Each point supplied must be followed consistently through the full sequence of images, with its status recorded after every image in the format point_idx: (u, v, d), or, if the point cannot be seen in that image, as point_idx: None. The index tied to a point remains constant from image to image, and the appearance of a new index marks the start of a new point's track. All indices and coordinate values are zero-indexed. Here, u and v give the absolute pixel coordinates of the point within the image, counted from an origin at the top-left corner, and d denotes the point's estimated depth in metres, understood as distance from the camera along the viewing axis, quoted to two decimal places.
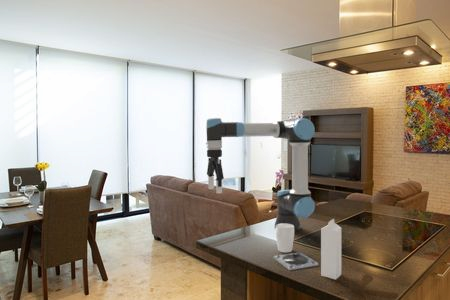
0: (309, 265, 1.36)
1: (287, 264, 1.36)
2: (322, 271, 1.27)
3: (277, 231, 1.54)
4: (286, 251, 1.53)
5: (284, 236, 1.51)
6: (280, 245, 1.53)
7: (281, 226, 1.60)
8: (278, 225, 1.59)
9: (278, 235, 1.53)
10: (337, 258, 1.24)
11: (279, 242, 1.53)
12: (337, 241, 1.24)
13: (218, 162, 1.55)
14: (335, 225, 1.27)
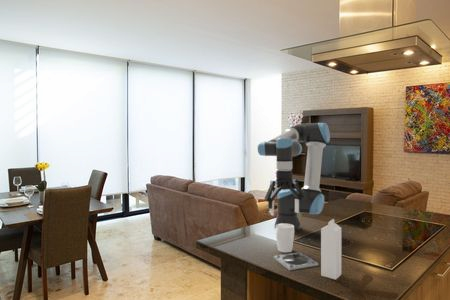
0: (309, 265, 1.36)
1: (287, 264, 1.36)
2: (322, 271, 1.27)
3: (277, 231, 1.54)
4: (286, 251, 1.53)
5: (284, 236, 1.51)
6: (280, 245, 1.53)
7: (281, 226, 1.60)
8: (278, 225, 1.59)
9: (278, 235, 1.53)
10: (337, 258, 1.24)
11: (279, 242, 1.53)
12: (337, 241, 1.24)
13: (271, 183, 1.52)
14: (335, 225, 1.27)
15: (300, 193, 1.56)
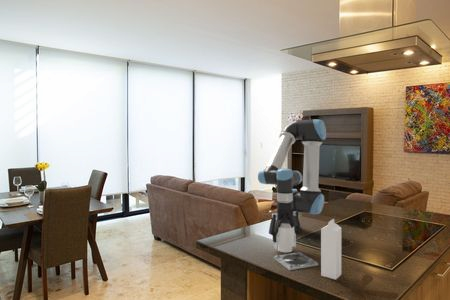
0: (309, 265, 1.36)
1: (287, 264, 1.36)
2: (322, 271, 1.27)
3: None
4: (286, 251, 1.53)
5: (284, 236, 1.51)
6: (280, 245, 1.53)
7: (281, 226, 1.60)
8: None
9: (278, 235, 1.53)
10: (337, 258, 1.24)
11: (279, 242, 1.53)
12: (337, 241, 1.24)
13: (272, 217, 1.53)
14: (335, 225, 1.27)
15: (298, 226, 1.56)
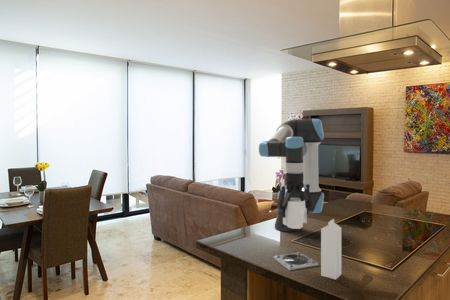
0: (309, 265, 1.36)
1: (287, 264, 1.36)
2: (322, 271, 1.27)
3: None
4: (296, 227, 1.38)
5: (294, 210, 1.36)
6: (290, 220, 1.38)
7: (290, 200, 1.45)
8: None
9: (287, 209, 1.38)
10: (337, 258, 1.24)
11: (288, 217, 1.38)
12: (337, 241, 1.24)
13: (280, 189, 1.38)
14: (335, 225, 1.27)
15: (309, 200, 1.42)
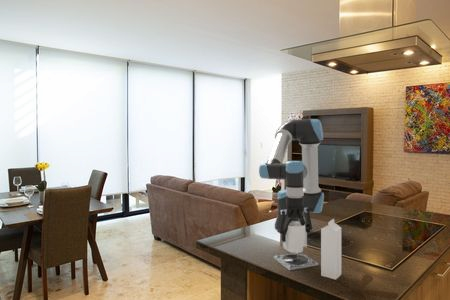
0: (309, 265, 1.36)
1: (287, 264, 1.36)
2: (322, 271, 1.27)
3: None
4: (296, 251, 1.38)
5: (295, 235, 1.37)
6: (290, 245, 1.39)
7: (290, 224, 1.45)
8: None
9: (288, 234, 1.39)
10: (337, 258, 1.24)
11: (289, 241, 1.39)
12: (337, 241, 1.24)
13: (281, 213, 1.39)
14: (335, 225, 1.27)
15: (309, 224, 1.42)
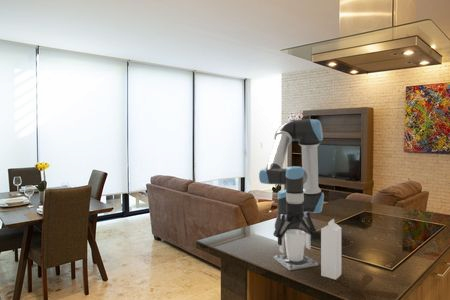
0: (309, 265, 1.36)
1: (287, 264, 1.36)
2: (322, 271, 1.27)
3: (287, 238, 1.39)
4: (296, 260, 1.38)
5: (295, 244, 1.37)
6: (290, 253, 1.39)
7: (290, 232, 1.46)
8: (287, 231, 1.45)
9: (288, 242, 1.39)
10: (337, 258, 1.24)
11: (289, 250, 1.39)
12: (337, 241, 1.24)
13: (280, 217, 1.39)
14: (335, 225, 1.27)
15: (312, 227, 1.43)
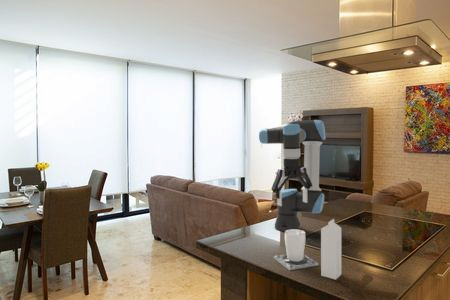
0: (309, 265, 1.36)
1: (287, 264, 1.36)
2: (322, 271, 1.27)
3: (287, 238, 1.39)
4: (296, 260, 1.38)
5: (295, 244, 1.37)
6: (290, 253, 1.39)
7: (290, 232, 1.46)
8: (287, 231, 1.45)
9: (288, 242, 1.39)
10: (337, 258, 1.24)
11: (289, 250, 1.39)
12: (337, 241, 1.24)
13: (278, 172, 1.45)
14: (335, 225, 1.27)
15: (308, 182, 1.49)
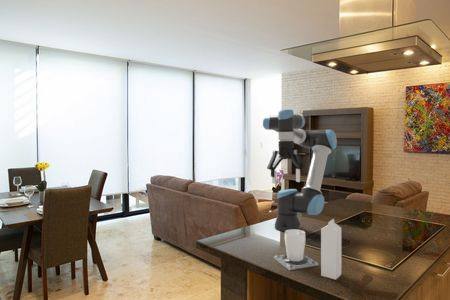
0: (309, 265, 1.36)
1: (287, 264, 1.36)
2: (322, 271, 1.27)
3: (287, 238, 1.39)
4: (296, 260, 1.38)
5: (295, 244, 1.37)
6: (290, 253, 1.39)
7: (290, 232, 1.46)
8: (287, 231, 1.45)
9: (288, 242, 1.39)
10: (337, 258, 1.24)
11: (289, 250, 1.39)
12: (337, 241, 1.24)
13: (273, 153, 1.60)
14: (335, 225, 1.27)
15: (301, 163, 1.64)
